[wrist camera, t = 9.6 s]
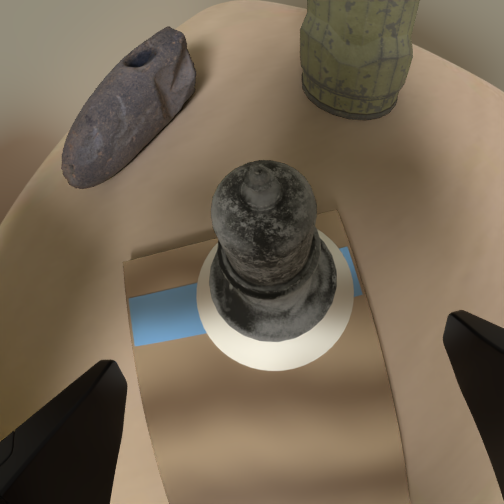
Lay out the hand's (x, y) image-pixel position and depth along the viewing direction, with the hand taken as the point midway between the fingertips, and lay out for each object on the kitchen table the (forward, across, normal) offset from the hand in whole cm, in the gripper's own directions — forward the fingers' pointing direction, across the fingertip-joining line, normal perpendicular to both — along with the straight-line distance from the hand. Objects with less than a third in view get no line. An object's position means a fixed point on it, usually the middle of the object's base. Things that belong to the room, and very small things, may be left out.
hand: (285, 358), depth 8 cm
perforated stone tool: (+21, +9, -6) cm, 24 cm away
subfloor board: (+6, +1, +9) cm, 11 cm away
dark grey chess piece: (+10, 0, +4) cm, 10 cm away
